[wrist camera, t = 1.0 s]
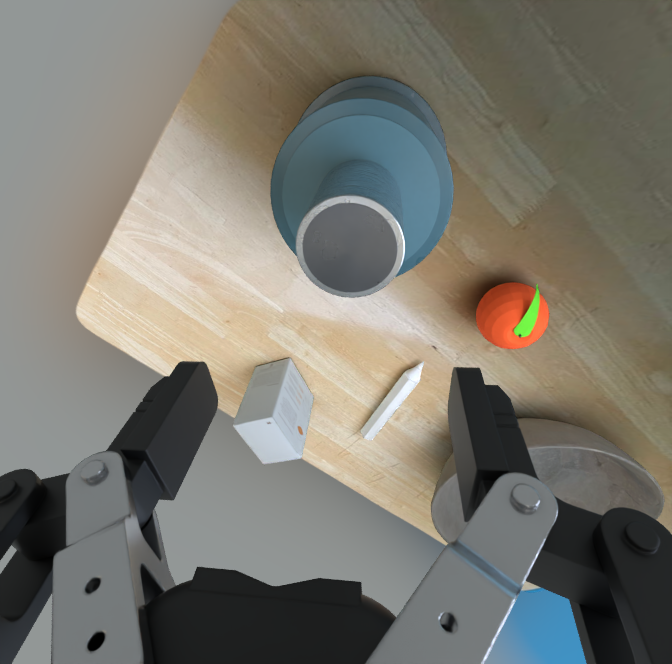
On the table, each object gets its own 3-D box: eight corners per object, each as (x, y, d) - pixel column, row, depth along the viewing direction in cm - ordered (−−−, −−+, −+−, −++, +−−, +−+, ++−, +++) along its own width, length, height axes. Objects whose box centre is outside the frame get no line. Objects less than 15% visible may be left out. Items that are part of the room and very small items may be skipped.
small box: (255, 365, 53) (229, 424, 45) (291, 356, 51) (271, 416, 43) (281, 404, 57) (262, 466, 49) (315, 397, 55) (301, 459, 47)
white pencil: (424, 352, 49) (369, 426, 58) (412, 352, 48) (358, 427, 57) (435, 368, 48) (377, 441, 57) (422, 368, 47) (365, 442, 56)
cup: (313, 161, 26) (287, 197, 20) (402, 156, 25) (407, 192, 19) (321, 244, 30) (302, 298, 23) (400, 243, 29) (403, 298, 22)
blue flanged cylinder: (281, 82, 33) (241, 93, 24) (453, 68, 31) (479, 75, 22) (301, 240, 41) (277, 292, 33) (438, 237, 40) (452, 291, 31)
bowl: (501, 523, 69) (516, 585, 61) (389, 452, 61) (389, 513, 53) (664, 459, 55) (711, 529, 47) (546, 355, 47) (578, 418, 39)
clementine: (491, 254, 40) (508, 288, 34) (555, 270, 40) (582, 306, 35) (460, 316, 45) (471, 355, 39) (517, 330, 45) (536, 370, 39)
